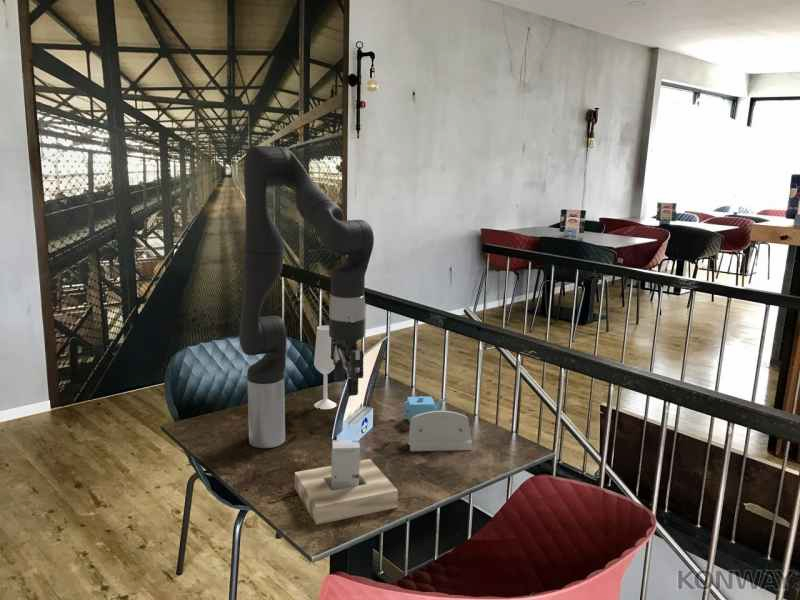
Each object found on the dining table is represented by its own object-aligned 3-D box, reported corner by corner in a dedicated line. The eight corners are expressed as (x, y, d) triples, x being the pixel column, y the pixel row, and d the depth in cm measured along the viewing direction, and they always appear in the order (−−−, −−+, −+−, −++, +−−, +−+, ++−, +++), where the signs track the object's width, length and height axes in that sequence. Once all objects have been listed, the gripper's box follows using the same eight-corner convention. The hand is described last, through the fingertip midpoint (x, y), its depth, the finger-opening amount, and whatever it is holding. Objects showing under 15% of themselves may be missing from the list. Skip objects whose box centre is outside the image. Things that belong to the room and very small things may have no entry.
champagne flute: (341, 405, 197) (341, 327, 192) (324, 411, 192) (323, 331, 187) (326, 399, 201) (326, 323, 196) (309, 404, 197) (309, 327, 192)
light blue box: (442, 417, 190) (443, 392, 188) (446, 425, 184) (447, 400, 182) (401, 418, 189) (402, 393, 187) (403, 426, 183) (404, 401, 181)
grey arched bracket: (409, 451, 167) (408, 411, 169) (407, 449, 172) (406, 410, 173) (473, 449, 169) (472, 410, 170) (470, 448, 174) (469, 409, 175)
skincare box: (331, 501, 141) (331, 448, 138) (330, 490, 145) (330, 439, 143) (359, 499, 142) (360, 447, 139) (358, 489, 146) (359, 439, 144)
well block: (295, 488, 147) (294, 472, 146) (369, 474, 154) (369, 458, 153) (316, 524, 133) (316, 506, 132) (397, 507, 140) (397, 490, 139)
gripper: (320, 308, 143) (319, 379, 146) (341, 325, 130) (339, 402, 134) (352, 306, 146) (351, 375, 149) (376, 322, 133) (374, 397, 137)
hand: (345, 388), depth 142 cm, fingers open, 8 cm apart
